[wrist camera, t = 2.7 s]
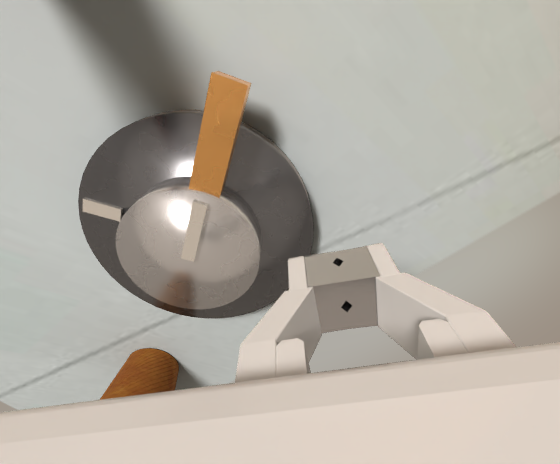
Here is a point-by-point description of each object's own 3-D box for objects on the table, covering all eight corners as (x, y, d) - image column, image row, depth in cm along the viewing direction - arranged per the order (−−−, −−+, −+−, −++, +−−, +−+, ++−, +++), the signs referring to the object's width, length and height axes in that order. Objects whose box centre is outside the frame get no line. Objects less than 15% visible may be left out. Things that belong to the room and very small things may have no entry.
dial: (242, 298, 29) (238, 325, 26) (127, 269, 28) (109, 294, 25) (313, 105, 21) (318, 113, 18) (150, 45, 19) (126, 42, 16)
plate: (347, 158, 25) (353, 166, 23) (272, 322, 34) (272, 338, 32) (94, 69, 22) (75, 70, 20) (89, 277, 31) (76, 292, 29)
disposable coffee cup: (201, 383, 40) (172, 497, 29) (133, 390, 41) (82, 503, 30) (177, 334, 35) (133, 449, 25) (101, 343, 36) (28, 457, 26)
